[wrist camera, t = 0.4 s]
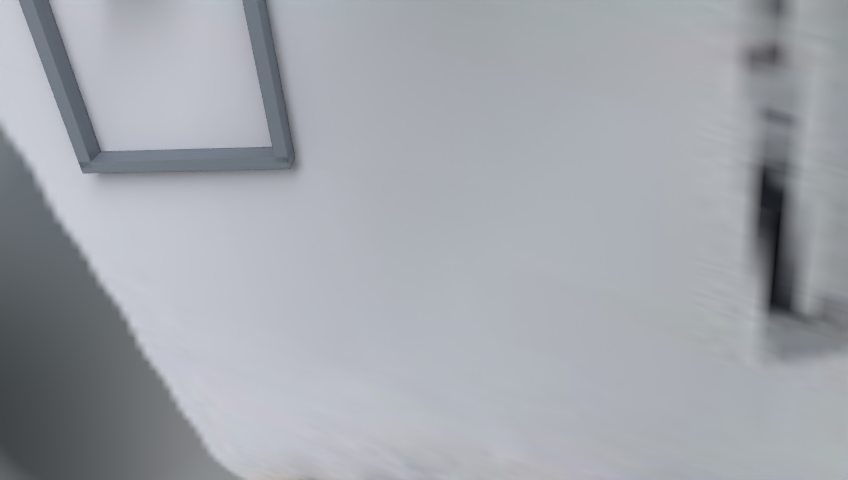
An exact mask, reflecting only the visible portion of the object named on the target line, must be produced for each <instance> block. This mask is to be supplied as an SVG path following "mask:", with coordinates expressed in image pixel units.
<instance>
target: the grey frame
mask: <svg viewBox="0 0 848 480" xmlns="http://www.w3.org/2000/svg"><path fill="white" fill-rule="evenodd" d="M19 2H20V5H21V7H22V10H23V13H24V16H25V18H26V21H27V24H28V26H29V29H30V32H31V35H32V37H33V40H34V43H35V45H36V48H37V51H38V54H39V56H40V59H41V62H42V64H43V67H44V70H45V72H46V75H47V78H48V81H49V83H50V86H51V89H52V91H53V94H54V97H55V100H56V102H57V105H58V108H59V110H60V113H61V116H62V119H63V121H64V124H65V127H66V129H67V132H68V135H69V137H70V140H71V143H72V146H73V148H74V151H75V154H76V156H77V159H78V162H79V165H80V167H81V170H82V173H124V172H166V171H208V170H250V169H290V167H291V165H292V162H293V160H294V158H295V156H294V151H293V145H292V140H291V135H290V129H289V124H288V119H287V114H286V108H285V103H284V98H283V92H282V87H281V82H280V76H279V71H278V66H277V60H276V55H275V50H274V44H273V39H272V34H271V28H270V23H269V18H268V12H267V7H266V2H265V0H243V5H244V10H245V15H246V20H247V25H248V30H249V35H250V39H251V44H252V49H253V54H254V59H255V64H256V69H257V74H258V78H259V83H260V88H261V93H262V98H263V103H264V108H265V113H266V118H267V122H268V127H269V132H270V137H271V142H272V147H253V148H216V149H179V150H142V151H106V152H101V151H100V148H99V145H98V143H97V140H96V137H95V134H94V131H93V128H92V125H91V122H90V120H89V117H88V114H87V111H86V108H85V105H84V102H83V99H82V97H81V94H80V91H79V88H78V85H77V82H76V79H75V76H74V74H73V71H72V68H71V65H70V62H69V59H68V56H67V53H66V51H65V48H64V45H63V42H62V39H61V36H60V33H59V30H58V28H57V25H56V22H55V19H54V16H53V13H52V10H51V7H50V5H49V2H48V0H19Z"/></svg>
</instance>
